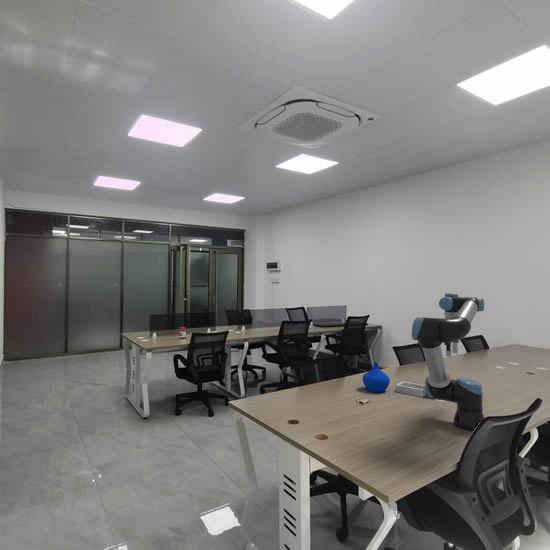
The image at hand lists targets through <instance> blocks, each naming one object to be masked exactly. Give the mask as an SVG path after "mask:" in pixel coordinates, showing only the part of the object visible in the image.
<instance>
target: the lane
mask: <svg viewBox="0 0 550 550" xmlns="http://www.w3.org/2000/svg"><path fill="white" fill-rule="evenodd" d="M394 389H395V390H394V391H395V392H396V393H400V394H406V395H409V396H410V395H411V396H416V397H420V398H424V397H425V384H418V383H414V382H409V381H401V382H399V383H397V384H395V388H394Z"/></svg>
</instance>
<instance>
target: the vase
mask: <svg viewBox="0 0 550 550" xmlns="http://www.w3.org/2000/svg"><path fill="white" fill-rule="evenodd" d="M390 381H391V380H390V376H389V375H387V374H386V373H385V372H384V371H382V370H381V369H380V368H379V362H377V361H376V362H373V367H372V368H370V370H368V371H367V372H366V373H363V375H362V383H363V384H364V385H363V386H364V387H365V388H366V389H367V390H368V391H370V392H372V393H383V392H385V391H386V389H388V387H389V386H390V383H391V382H390Z"/></svg>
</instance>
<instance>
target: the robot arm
mask: <svg viewBox="0 0 550 550" xmlns="http://www.w3.org/2000/svg"><path fill="white" fill-rule="evenodd" d="M438 306H439V307H440V309H441V310H443V311H444V313H443V316H444V318H443V317H442V318H440V317H425V316H423V317H422V316H421V317H419V316H417V317H416V318H415V319H414V320H413V322H412V326H411V338H412V340H414V341H417V343H418V345H419V346H420V347H421V348H422V350H423V355H424V358H425V363H426V367H427V371H428V375H427V376H426V379H425V382H424V385H425V386H426V388H425V389H426V393H427V395H428V396H429V397H431V398H430V399H434V400H438V401H445V402H450V403H455V404H456V405H457V406H456V411H455V414H454V416H453V424H454V425H455V426H456V427H458V428H461V429H462V430H466V429H467V431H471V430H473V432H475V431H474V429H475V428H476V427H477V426H478V424H479V423H480V422H481V421H482V420H483V419H484V418H485V415H484V413H483V411H484V410H483V386H482V384H481V383H480V382H479V381H476V380H474V379H472V378H467V377H457V378H456V379H452V378H451V375H450V374H449V373H448V372H447V368H446V364H445V360H444V355H443V351H442V347H441V345H442V344H443V345H444V346H445V357H449V358H451V357H452V354H456V355H457V354H458V353H459V351H458V348H459V347H458V343H460V340H462V339H463V338H465V337H466V336H467V335H468V334H469V333H470V331H471V329H472V322H473V320H474V318H475V316H476V314H477V312H483V311H484V310H485V300H484V298H483V297H467V296H466V297H465V296H464V297H462V296H461V297H460V296H459V294H458V293H449V292H448V293H444V297H441V298H440V299H439V301H438Z"/></svg>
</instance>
